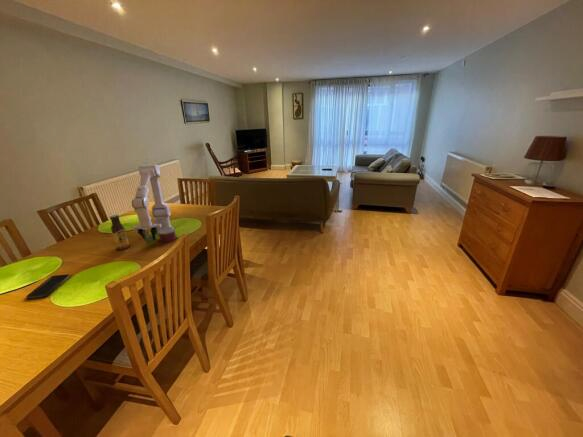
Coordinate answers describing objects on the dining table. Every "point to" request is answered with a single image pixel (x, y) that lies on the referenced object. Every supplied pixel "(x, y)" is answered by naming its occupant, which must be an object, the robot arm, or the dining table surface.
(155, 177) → the robot arm
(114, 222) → the sauce bottle
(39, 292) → the phone
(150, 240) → the block
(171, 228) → the jar
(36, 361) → the dining table surface
